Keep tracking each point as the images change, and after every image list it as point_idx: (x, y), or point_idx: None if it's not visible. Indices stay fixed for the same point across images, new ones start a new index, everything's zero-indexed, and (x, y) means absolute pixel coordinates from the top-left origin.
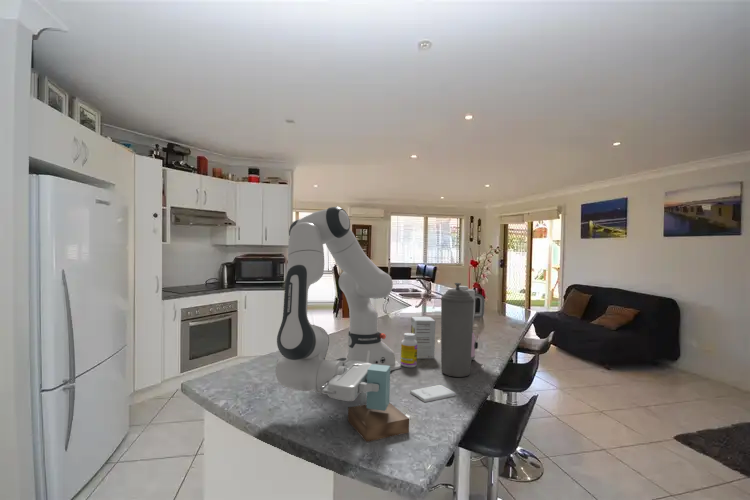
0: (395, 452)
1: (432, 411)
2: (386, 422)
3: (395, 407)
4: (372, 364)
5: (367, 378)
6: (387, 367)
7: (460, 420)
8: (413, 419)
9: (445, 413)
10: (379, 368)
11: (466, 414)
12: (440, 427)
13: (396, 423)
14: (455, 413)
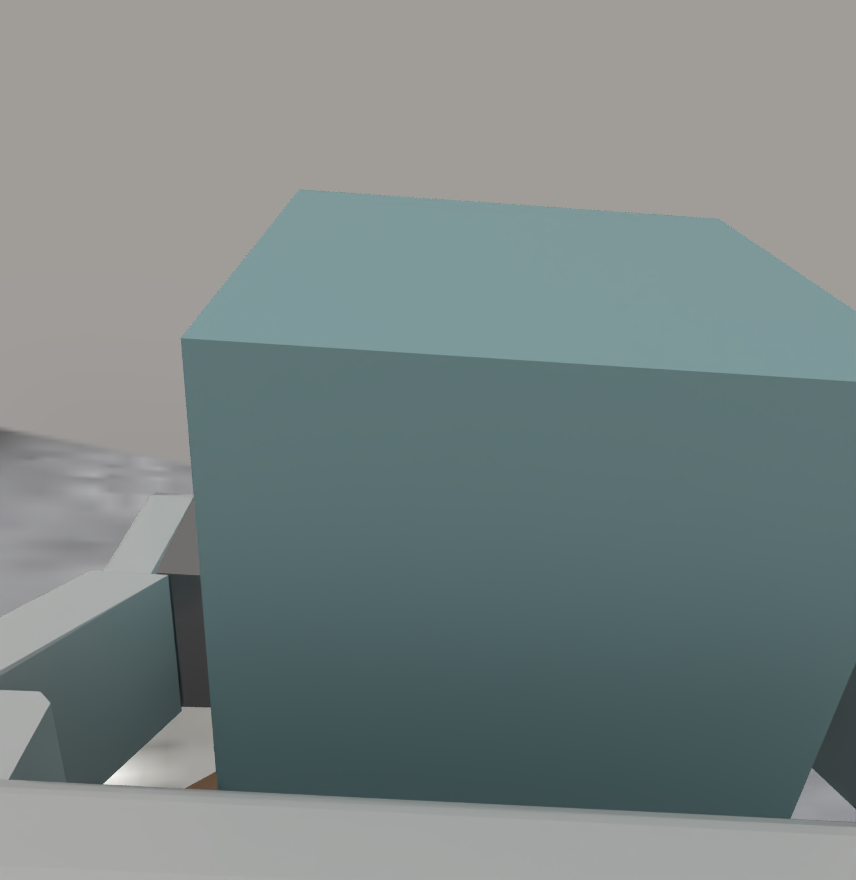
0: (839, 803)
1: (3, 599)
2: None
3: (203, 780)
4: (244, 336)
5: (854, 655)
6: (436, 205)
7: (179, 479)
8: (173, 720)
9: (57, 533)
10: (596, 256)
11: (86, 454)
12: None
13: None
14: (64, 492)
